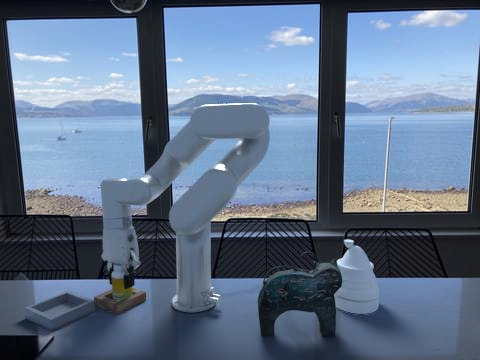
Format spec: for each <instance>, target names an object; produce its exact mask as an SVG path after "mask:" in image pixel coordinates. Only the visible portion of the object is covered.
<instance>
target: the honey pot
mask: <svg viewBox="0 0 480 360" xmlns="http://www.w3.org/2000/svg"><path fill="white" fill-rule="evenodd" d="M354 242H355V241H354V240H352V239H343V243H344V245H345V247H346V248H348V249H347V250H346V252H345V253H344V255H343V257H342V258H341V257H340V258H339V259H336V261H337V264H338V267H339V269H340V271H341V274H342V280H343V282H342V286H341V288H340V289H339V290H338V291H337V292H336V293H335V294H334V297H335V305H336V307H337V308H339V309H342V310H344V311H347V312H351V313H359V314H360V313H363V314H365V313H371V312H374V311H376V310H377V309H379V308H378V307H380V305H379V303H380V288H379V285H378V281H377V279H376V275H375V273H374V271H373V270H374V268H375V267H374V263H373V262H371V261H370V260H369V257H368V255H367V254H366V253H365V251H364V249H362V248H361V247H360V246H359V245H355V244H354ZM337 308H336V309H337ZM339 309H338V310H339ZM344 311H343V312H344ZM377 311H378V310H377ZM347 312H346V313H347ZM351 313H350V314H351ZM374 313H375V312H374ZM371 314H372V313H371ZM365 315H366V314H365Z"/></svg>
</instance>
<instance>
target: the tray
mask: <svg viewBox="0 0 480 360" xmlns="http://www.w3.org/2000/svg"><path fill="white" fill-rule="evenodd" d="M95 311H96V306H95V304H94V299H91V298H88V297H85V296H82V295H80V294H78V293H74V292H72V291H69V290H66V291H64V292H61V293H59V294H56V295H54V296H51V297H49V298H47V299H44V300H40V301H38V302H36V303H33V304H31V305H28V306H25V307H24V315H25V317H24V318H25V319H26V320H27V321H29V322H32V323H34V324H36V325H38V326H39V327H42V328H43V329H46V330H48V331H51V332H53V331H56V330H58V329H60V328H61V327H64V326H66V325H70V324H71V323H73V322H75V321H78V320H79V319H81V318H83V317H85V316H88V315H89V314H92V313H94V312H95Z"/></svg>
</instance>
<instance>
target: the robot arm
mask: <svg viewBox="0 0 480 360" xmlns="http://www.w3.org/2000/svg"><path fill="white" fill-rule="evenodd" d="M189 117H190V118H189V120H188V122H187V123H186V124H185V125H184V126H183V127H182V128H181V129H180V130H179V131H178V132H177V133H176V134H175V135H174V136H173V137H172V138H171V139H170V140H169V141H168V142H167V143H166V145H165V146H164V149H163V152H162V154H161V156H160V158H158V160H157V161H156V162H155V163H154V164H153V165H152V166H151V167H149V169H148V170H147V171H146V172H145V173H144V174H142V176H139V177H135V178H133V179H131V178H130V179H128V178H125V177H110V178H105V179H102V181H101V182H100V195H101V197H100V198H101V209H102V222H103V230H102V254H101V256H100V257H101V259H102V260H103V261H104V264H105V265H106V270H107V271H108V280H109V285H111V286H112V277H111V275H112V272H113V271H114V267H113V265H114V263H117V264H122V265H123V268H124V272H125V275H124V288H125V289H128V288H130V287H132V288H133V286H136V285H135V282H136V281H135V273H136V270H137V269H138V267H140V265H142V264H141V263H142V262H141V261H140V253H139V252H140V251H139V244H138V238H137V233H136V229H135V226H133V217H132V206H134V207H136V206H137V207H142V206H146V205H148V204H150V203H151V202H153V201H154V200H155V199H157V198H158V197H159V196H160V195H161V194H162V193H163V192H164V191H166V189H167V188H169V186H170V185H171V184H173V182H175V180H177V179H178V177H179V176H180V175H181V174H183V172H185V171H186V170H187V169H188V168H189V167H190V166H191V165H192V164H193V163H194V162H195V161H196V160H197V159H198V158H199V157H200V156H202V154H203V153H204V152H205V151H206V150H207V149H208V148H209V147H210V146H211V145H212V144H213V143H214V142H215V141H216V140H226V139H232V140H233V139H238V140H237V141H236V142H235V144H234V145H233V146H232V147H231V148H229V150H228V152H227V153H226V154H224V155H223V156H222V158H221V159H220V160H219V161H218V162H217V163H216V164H214V165H213V166H212V167H210V168H208V169H207V170H206V171H205V172H204V173H203V174H202V175H201V176H200V177H199V178H198V179H197V180H196V181H195V182H194V183H193V184H192V185H191V186H190V187H189V188H188V189H187V190H186V191H185V192H184V193H183V194H182V195H181V196H180V197H179V198H178V199H177V200H176V201H175V202H174V203H173V204H172V205H171V208H170V210H169V214H168V220H169V225H170V227H171V228H172V229H173V230H174V231H175V249H176V251H175V255H176V258H175V259H176V260H175V261H176V286H177V287H176V291H177V293H176V294H175V295H174V296H173V297H172V299H171V305H172V307H173V308H174V309H175V310H177V311H180V312H183V313H199V312H205V311H208V310H210V309H212V308H213V307H214V306H217V307H218V306H220V304H221V300H222V295H221V294H218V293H215V287H214V286H212V275H211V274H212V272H211V271H212V270H211V268H212V265H211V262H212V261H211V249H212V248H211V223H212V220H213V219H215V217H216V216H218V214H219V213H220V212H221V211H222V210H223V209H224V208H225V207H227V205H228V204H229V203H230V202H231V201H232V200H233V198H234V197H235V195H236V193H237V190H238V187H239V186H240V185H241V184H242V183H243V182H244V181H245V180H246V179H247V177H249V176H250V174H251V173H252V172H253V171H254V170H255V169H256V168H257V167H258V166H259V165H260V164H261V162H262V161H263V160H264V158H265V157H266V155H267V153H268V151H269V146H270V139H271V138H270V137H271V136H270V134H271V133H270V128H269V127H270V120H271V119H270V115H269V113H268V111H267V109H266V108H265V107H263V106H262V105H260V104H259V103H254V102H253V103H252V102H248V103H244V102H243V103H227V104H226V103H223V104H222V103H221V104H220V103H219V104H203V105H200V106H197V107H196V108H195V109H194V110H193V111H192V113H191V115H190V116H189ZM127 265H128V267H127Z"/></svg>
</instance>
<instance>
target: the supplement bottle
mask: <svg viewBox="0 0 480 360" xmlns="http://www.w3.org/2000/svg"><path fill="white" fill-rule="evenodd" d="M113 267H114V271H113V272H112V275H111V277H112V285H111V289H112V294H113V298H114V299H115V300H116V301H121V300H123V299H125V298H127V297H129V296H131V295H132V288H133V286H132V287H130V288H128V289H125V288H124V275H125V272H124V268H123V265H122V264H117V263H114V265H113ZM127 267H128V268H129V265H127Z"/></svg>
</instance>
